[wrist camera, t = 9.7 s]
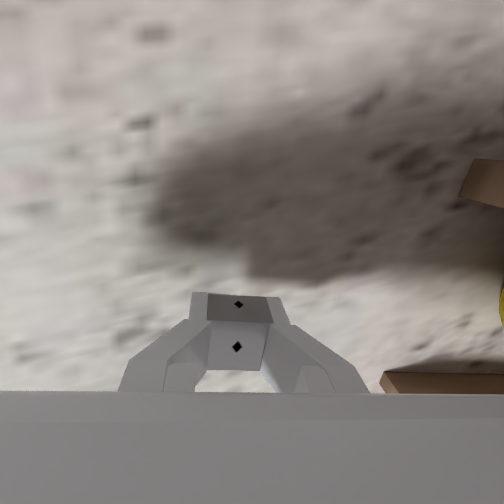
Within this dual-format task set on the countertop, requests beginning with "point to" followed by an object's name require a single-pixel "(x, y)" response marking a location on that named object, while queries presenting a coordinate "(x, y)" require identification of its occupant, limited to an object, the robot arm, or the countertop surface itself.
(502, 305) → the lemon
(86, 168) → the countertop surface
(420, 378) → the bay rack
